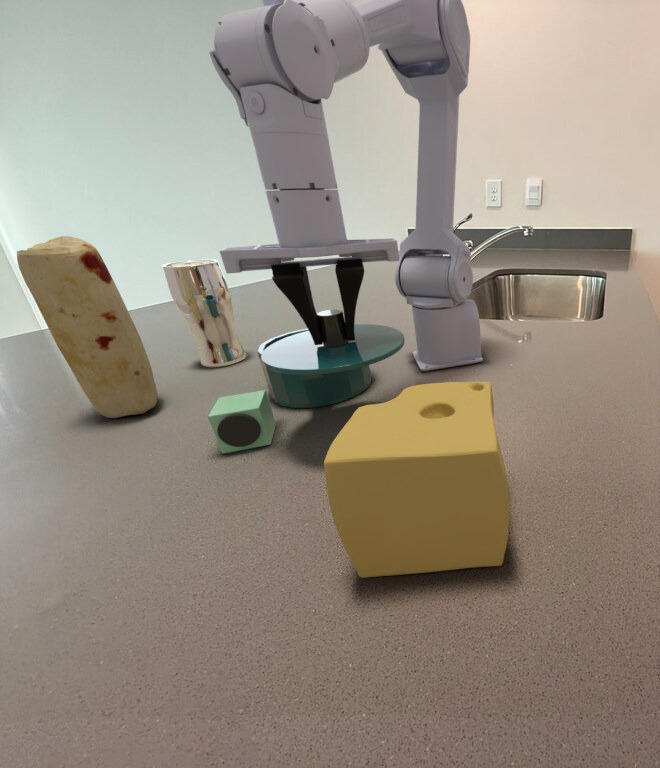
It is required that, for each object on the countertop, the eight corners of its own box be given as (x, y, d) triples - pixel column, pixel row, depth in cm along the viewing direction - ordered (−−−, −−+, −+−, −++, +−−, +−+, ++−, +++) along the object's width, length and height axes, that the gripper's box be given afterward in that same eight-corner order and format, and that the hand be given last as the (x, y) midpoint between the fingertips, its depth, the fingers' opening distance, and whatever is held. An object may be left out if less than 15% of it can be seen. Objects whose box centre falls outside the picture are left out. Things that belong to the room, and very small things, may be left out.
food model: (182, 406, 51) (111, 236, 42) (113, 430, 46) (17, 243, 37) (149, 388, 55) (80, 233, 47) (84, 409, 50) (-7, 239, 42)
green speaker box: (231, 432, 45) (218, 397, 43) (276, 424, 46) (265, 389, 44) (221, 456, 41) (206, 418, 39) (270, 446, 42) (258, 409, 40)
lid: (397, 327, 49) (392, 292, 47) (415, 366, 38) (409, 322, 36) (273, 342, 45) (262, 304, 43) (252, 392, 34) (236, 343, 32)
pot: (367, 357, 65) (359, 317, 62) (376, 406, 50) (367, 356, 47) (280, 369, 61) (268, 327, 58) (262, 427, 46) (244, 374, 43)
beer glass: (225, 370, 61) (188, 267, 54) (186, 367, 62) (146, 266, 56) (259, 353, 67) (230, 259, 60) (224, 351, 68) (192, 259, 62)
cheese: (381, 485, 36) (361, 383, 32) (502, 476, 37) (498, 376, 33) (349, 587, 27) (314, 463, 22) (512, 573, 27) (508, 450, 23)
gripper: (188, 191, 29) (245, 365, 35) (394, 188, 34) (414, 341, 40) (213, 192, 35) (258, 340, 41) (385, 189, 40) (404, 322, 46)
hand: (335, 339), depth 41 cm, fingers closed on lid, 2 cm apart
